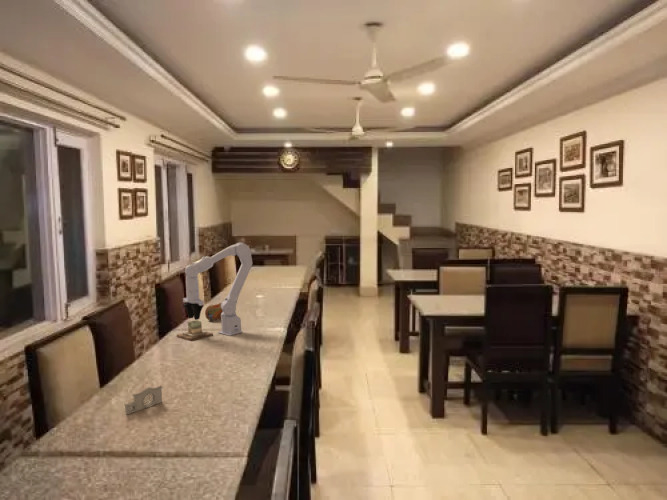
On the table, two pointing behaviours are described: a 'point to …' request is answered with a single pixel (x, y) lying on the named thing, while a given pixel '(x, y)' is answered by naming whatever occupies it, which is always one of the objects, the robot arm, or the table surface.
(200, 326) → the stack
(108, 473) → the table surface
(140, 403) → the garden wall model
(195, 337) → the plate
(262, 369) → the table surface
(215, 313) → the tin
